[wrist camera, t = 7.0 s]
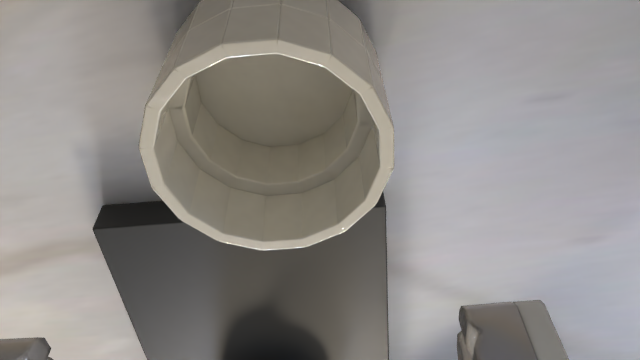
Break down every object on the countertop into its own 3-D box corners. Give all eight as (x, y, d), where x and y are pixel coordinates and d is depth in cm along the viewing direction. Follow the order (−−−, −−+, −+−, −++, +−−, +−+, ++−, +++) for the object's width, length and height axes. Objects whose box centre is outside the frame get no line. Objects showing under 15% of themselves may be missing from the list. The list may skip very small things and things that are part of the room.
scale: (102, 205, 23) (78, 259, 21) (381, 183, 23) (391, 235, 20) (182, 410, 32) (172, 465, 29) (387, 396, 31) (393, 451, 29)
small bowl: (150, -17, 18) (107, 53, 14) (373, -38, 18) (393, 28, 14) (196, 163, 22) (173, 257, 18) (378, 149, 22) (395, 241, 18)
